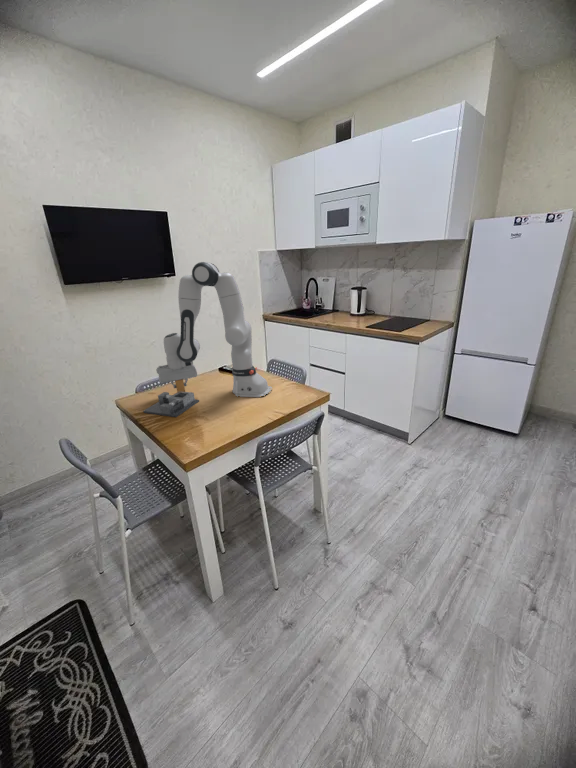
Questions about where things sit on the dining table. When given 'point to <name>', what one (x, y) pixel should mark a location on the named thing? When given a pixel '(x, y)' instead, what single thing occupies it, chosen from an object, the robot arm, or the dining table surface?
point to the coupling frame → (172, 404)
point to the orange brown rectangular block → (180, 385)
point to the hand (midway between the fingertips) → (180, 386)
